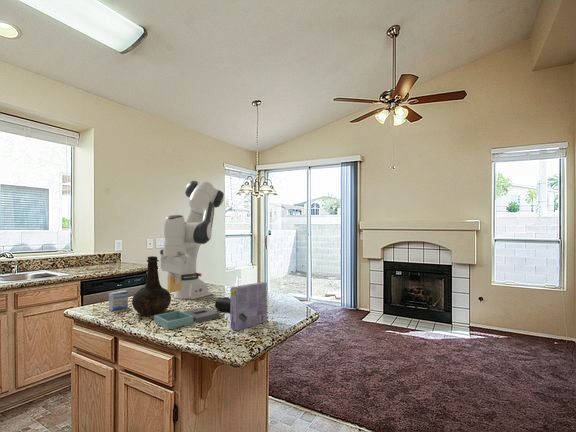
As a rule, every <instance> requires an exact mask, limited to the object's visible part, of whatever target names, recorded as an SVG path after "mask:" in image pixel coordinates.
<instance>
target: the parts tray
mask: <svg viewBox="0 0 576 432" xmlns="http://www.w3.org/2000/svg"><path fill="white" fill-rule="evenodd" d="M153 323H155V324H156V325H158V326H159V327H162V328H164V329H165V330H173V329H176V328H180V327H184V326H188V325H192V324H194V322H193V316H191V315H189V314H186V313H184V312H183V311H181V310H174V311H168V312H165V313H159V314H155V315H153Z"/></svg>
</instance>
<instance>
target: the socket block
mask: <svg viewBox="0 0 576 432" xmlns="http://www.w3.org/2000/svg"><path fill="white" fill-rule="evenodd" d="M182 312H184V313H186V314H189V315H191V316H193V323H195V324H197V323H201V322H205V321H210V320H214V319H218V318H220V312H218V311H216V310H214V309H210V308H207V307H205V306H204V307H198V308H193V309H188V310H185V311H182Z"/></svg>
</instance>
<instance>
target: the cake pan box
mask: <svg viewBox="0 0 576 432" xmlns="http://www.w3.org/2000/svg"><path fill="white" fill-rule="evenodd" d="M267 285H268V283H267V282H264V281H260V282H255V283H248V284H243V285H236V286H231V287H230V299H231V312H230V330H234V331H236V332H239V331H242V330H245V329H247V328H251V327H254V326H257V325H259V324H263V323H265V322H266V323H267V321H268V314H267V313H268V305H267V304H268V301H267V300H268V299H267V298H268V295H267V293H268V290H267V289H268V288H267V287H268V286H267Z"/></svg>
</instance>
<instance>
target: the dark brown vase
mask: <svg viewBox="0 0 576 432" xmlns="http://www.w3.org/2000/svg"><path fill="white" fill-rule="evenodd" d="M146 258H147V260H145V262H147V271H146V272H147V273H146V282H145V286H144V287H142V288H140V289H139V290H137V291H136V292H135V294H133V296H132V299H131V304H132V307H133V309H134V310H135V311H136V313H138V314H140V315H141V316H154V315H159V314H163V312H165V311H166V310H167V309H168V308H169V306H170V304H171V302H172V296H171V292H168V289H166V288H164V287H163V286H162V285H161V282H160V277H159V270H158V262H160V260H159V259H158V256H155V255H151V256H147V257H146Z"/></svg>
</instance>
